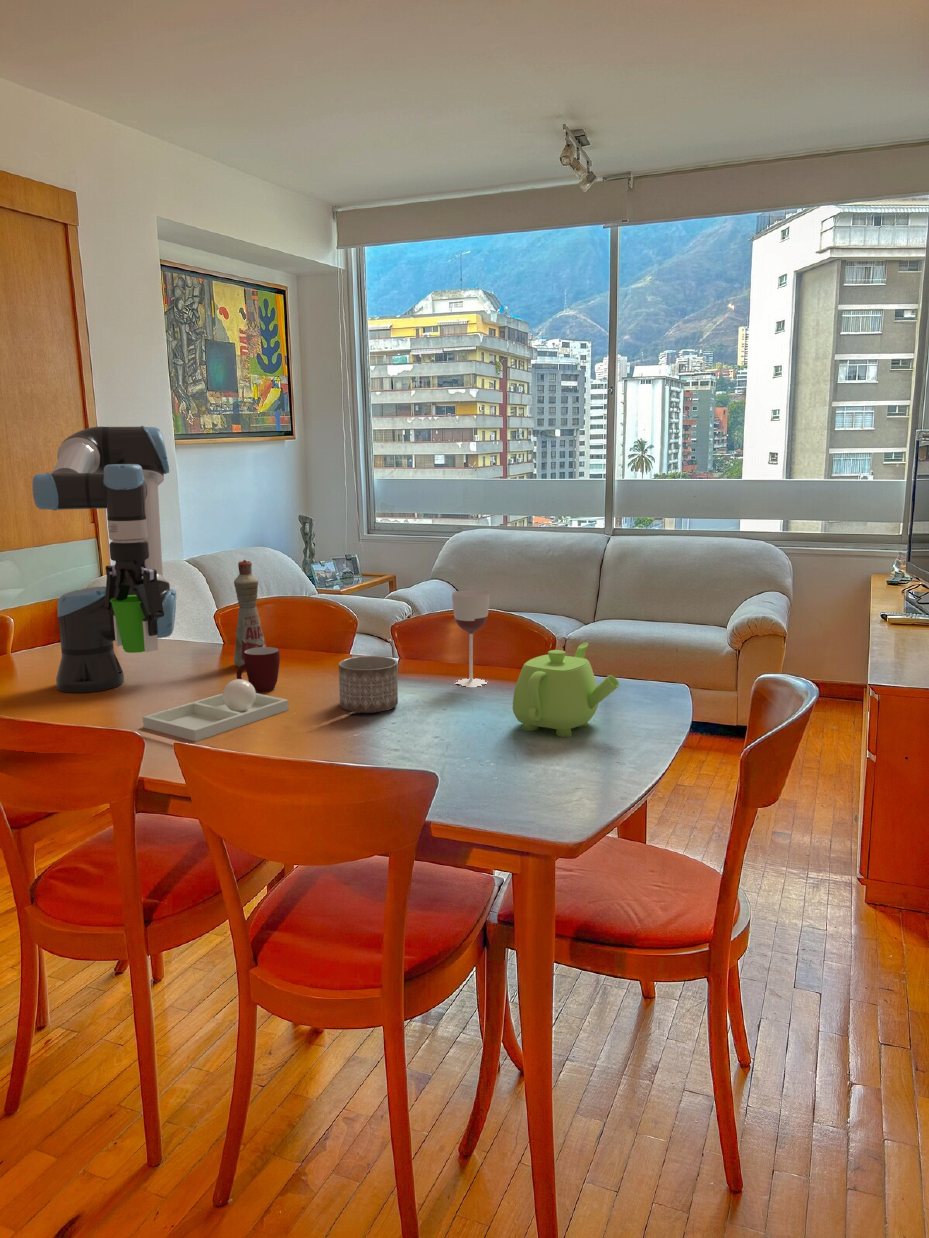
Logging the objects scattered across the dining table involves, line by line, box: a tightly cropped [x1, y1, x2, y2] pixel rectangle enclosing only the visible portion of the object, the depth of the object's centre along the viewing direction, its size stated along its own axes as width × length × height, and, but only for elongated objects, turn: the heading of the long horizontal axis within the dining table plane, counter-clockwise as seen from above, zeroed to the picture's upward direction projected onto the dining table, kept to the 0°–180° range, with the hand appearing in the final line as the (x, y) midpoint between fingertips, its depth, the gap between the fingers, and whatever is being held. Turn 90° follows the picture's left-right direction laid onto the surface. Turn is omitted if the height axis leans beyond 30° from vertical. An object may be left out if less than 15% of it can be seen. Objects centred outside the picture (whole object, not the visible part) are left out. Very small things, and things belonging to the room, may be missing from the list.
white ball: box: [221, 678, 257, 712], centre depth 192 cm, size 7×7×7 cm
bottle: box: [233, 559, 267, 669], centre depth 233 cm, size 9×9×28 cm
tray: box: [142, 692, 290, 743], centre depth 188 cm, size 16×25×3 cm, turn 146°
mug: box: [236, 646, 281, 693], centre depth 208 cm, size 10×8×10 cm
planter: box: [338, 655, 399, 714], centre depth 197 cm, size 13×13×10 cm
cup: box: [110, 595, 150, 654], centre depth 187 cm, size 9×9×11 cm
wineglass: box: [451, 589, 490, 688], centre depth 216 cm, size 9×10×22 cm
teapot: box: [512, 642, 620, 738], centre depth 183 cm, size 25×22×16 cm
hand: (136, 647), depth 188 cm, fingers closed on cup, 9 cm apart
